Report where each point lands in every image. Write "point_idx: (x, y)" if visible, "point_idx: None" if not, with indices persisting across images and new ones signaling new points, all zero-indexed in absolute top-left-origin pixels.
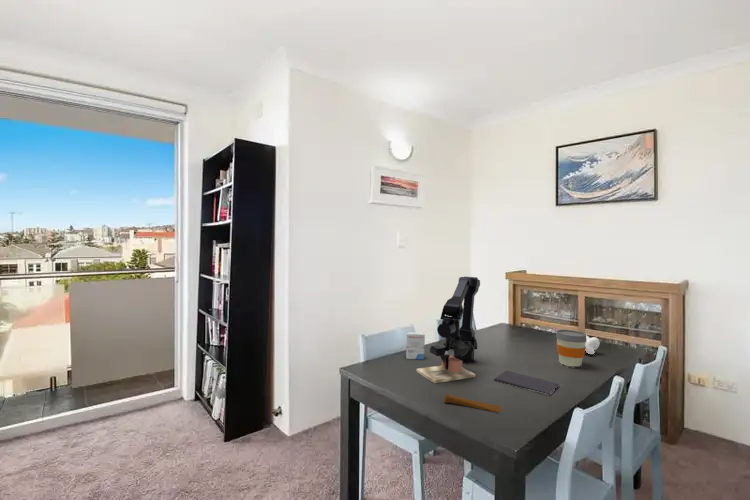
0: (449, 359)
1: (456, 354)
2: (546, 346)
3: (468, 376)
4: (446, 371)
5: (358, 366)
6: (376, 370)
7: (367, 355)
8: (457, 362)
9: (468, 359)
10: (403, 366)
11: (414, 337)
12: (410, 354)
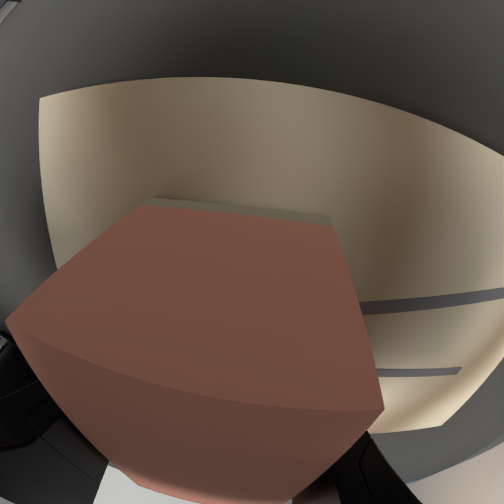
0: (272, 489)
1: (69, 485)
2: None
3: (133, 83)
4: None
5: (485, 449)
6: (498, 428)
7: None
8: (174, 356)
9: (18, 360)
10: (404, 453)
11: None
12: (291, 500)
